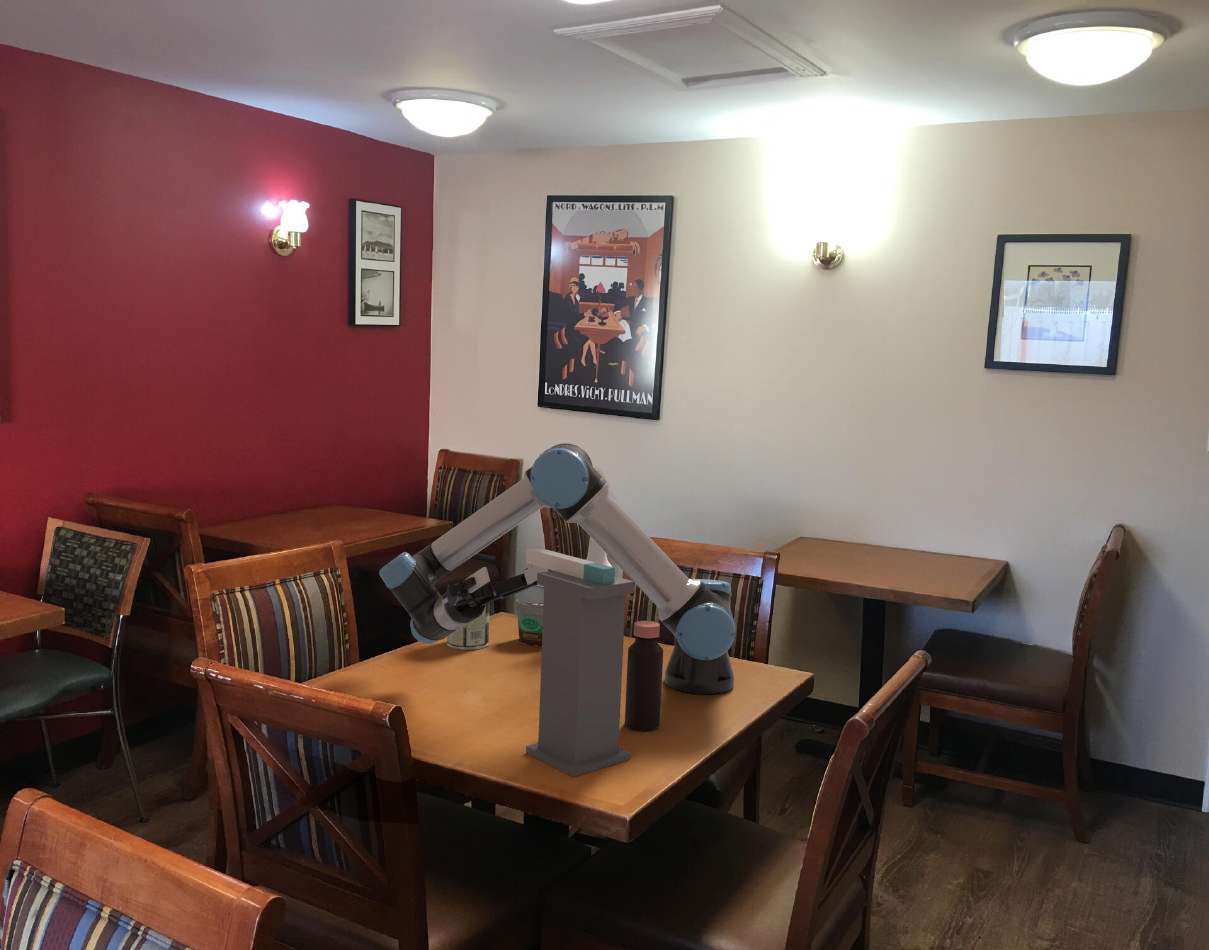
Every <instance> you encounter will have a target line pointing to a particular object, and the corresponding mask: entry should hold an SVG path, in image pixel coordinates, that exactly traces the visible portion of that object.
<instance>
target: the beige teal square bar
mask: <svg viewBox="0 0 1209 950" xmlns="http://www.w3.org/2000/svg"><path fill="white" fill-rule="evenodd" d="M525 556H526V560H525V561H526V562H525V563H526V564H529V565H532V566H533V565H536V566H539V567H543V568H546V569H548V570H550V571H557V572H560V573H564V574H567V575H571V576H574V577H578V578H581V579H585V580H588V581H592V582H595V583H599V584H602V585H604V584H611V583H614V581H615V576H616V567H614V566H612V567H610V566H606V565H603V564H599V563H595V562H591V561H588V560H586V559H585V558H579V557H575V556H572V555H567V554H564V553H561V552H556V551H553V550H549V549H545V548H541V547H530V548H526V555H525Z"/></svg>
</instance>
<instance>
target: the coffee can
mask: <svg viewBox="0 0 1209 950" xmlns="http://www.w3.org/2000/svg"><path fill="white" fill-rule="evenodd" d="M454 584H455V585H456V584H458V582H457V583H454ZM490 604H491V602H490V603H489V604H486V605H485V609H484V611H483V613H482V614H481V615H480V616H479V617H478V618H476V619H474V620H473V621H471V622H469V623H467V624H466V625H464V626H462V627H461V630H460V631H454V632H453V633H451V634H450V635H448V636H447V637H446V646H447V647H449V648H451V649H454V650H463V651H472V650H475V651H476V650H482V649H485V648H487V647H488V646H489V644H490V643H489V642H490V641H489V637H490V634H489V633H490Z"/></svg>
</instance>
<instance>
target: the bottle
mask: <svg viewBox="0 0 1209 950" xmlns="http://www.w3.org/2000/svg"><path fill="white" fill-rule="evenodd" d="M660 626H661V624H660V623H659V622H656V621H652V620H638V621H635V622H634V623H633V638H634V642H632V643H631V645H629V647H628V648H627V664H626V665H627V666H626V667H627V668H626V669H627V670H626V685H625V707H624V708H625V710H624V725H625V726H626V727H627V728H629V729H630V730H633V731H637V732H638V731H639V732H651V731H654V730H655V731H656V730H657V729H658V728H660V722H661V708H662V707H661V705H662V685H663V682H662V681H663V664H664V649H663V648H662V646H661V645H660V644H659V643H658V639H660V629H661V627H660Z"/></svg>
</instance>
